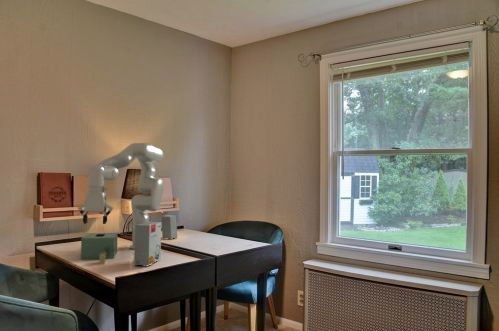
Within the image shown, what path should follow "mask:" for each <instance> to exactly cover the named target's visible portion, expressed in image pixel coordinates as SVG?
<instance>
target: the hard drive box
mask: <svg viewBox="0 0 499 331" xmlns="http://www.w3.org/2000/svg"><path fill="white" fill-rule="evenodd" d="M161 244H162V221H160V222H159V221H149V222H145V223H142V224H138V225H136V226H135V249H133V250H134V255H133V265H149V264H151V263H153V262H155V261H157V260H159V259H160V260H161V254H162V253H161V251H162V250H161V249H162V248H161V246H162V245H161Z"/></svg>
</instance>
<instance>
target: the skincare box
mask: <svg viewBox="0 0 499 331" xmlns="http://www.w3.org/2000/svg"><path fill="white" fill-rule="evenodd" d="M177 222H178V221H177V215H176V214H175V215H173V214H167V215H166V214H165V215H162V216H161V239H162V238H168V239H167V240H174V239H173V238H176V239H178V226H177V224H178V223H177Z"/></svg>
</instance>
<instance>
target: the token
mask: <svg viewBox="0 0 499 331" xmlns="http://www.w3.org/2000/svg"><path fill="white" fill-rule="evenodd" d="M106 262H107V259H106V252H101V253H100V259H99V265H105V263H106Z"/></svg>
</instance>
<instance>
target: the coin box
mask: <svg viewBox="0 0 499 331" xmlns="http://www.w3.org/2000/svg"><path fill="white" fill-rule="evenodd" d="M118 235H119V233H118V232H88V233H86V234H84V235H83V236H82V237H80V238H81V240H80V242H81V245H80V247H81V248H80V260H100V253H101V252H106V260H107V259H108V260H110V259H115V257H116V255H117V254H118V238H119V237H118Z"/></svg>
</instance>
